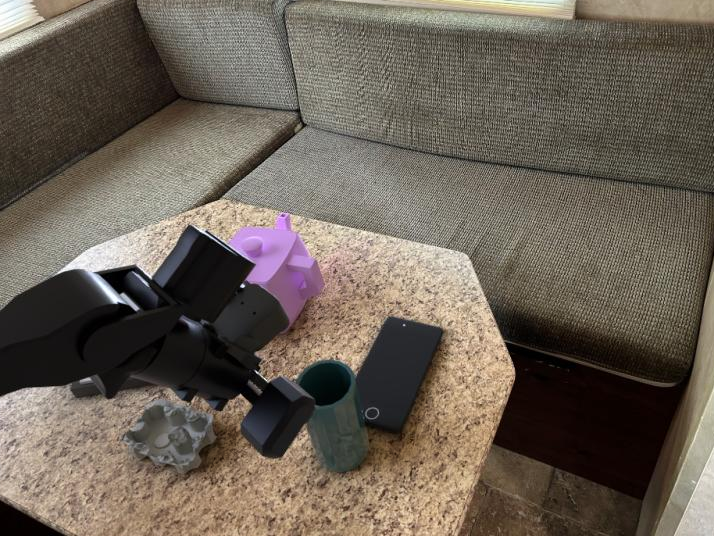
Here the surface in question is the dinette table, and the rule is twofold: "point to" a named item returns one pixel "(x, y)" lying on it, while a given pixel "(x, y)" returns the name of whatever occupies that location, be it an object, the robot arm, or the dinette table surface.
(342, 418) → the tumbler
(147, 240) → the dinette table surface
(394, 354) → the cell phone
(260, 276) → the teakettle
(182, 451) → the egg carton
